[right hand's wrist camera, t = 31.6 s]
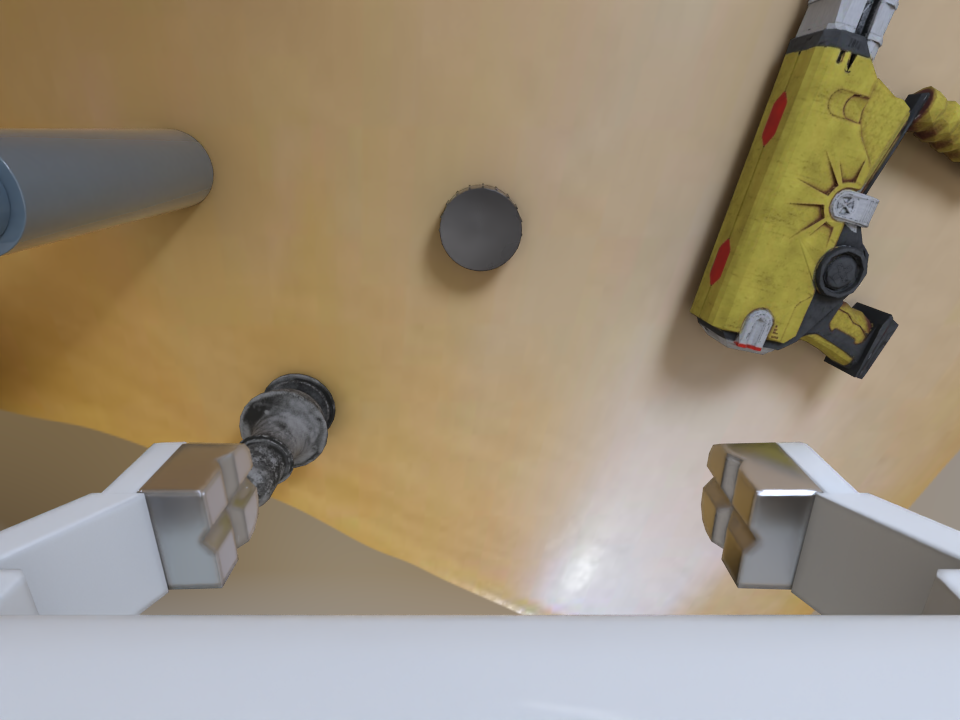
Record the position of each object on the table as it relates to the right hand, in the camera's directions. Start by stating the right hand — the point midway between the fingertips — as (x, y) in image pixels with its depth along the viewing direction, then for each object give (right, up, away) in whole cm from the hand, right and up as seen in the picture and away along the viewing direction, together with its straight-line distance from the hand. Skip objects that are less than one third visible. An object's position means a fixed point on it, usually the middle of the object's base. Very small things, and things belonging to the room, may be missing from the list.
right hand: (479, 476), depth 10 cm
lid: (0, +10, +25) cm, 27 cm away
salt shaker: (-13, -1, +32) cm, 35 cm away
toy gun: (+24, +14, +26) cm, 38 cm away
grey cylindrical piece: (-19, +14, +26) cm, 35 cm away
